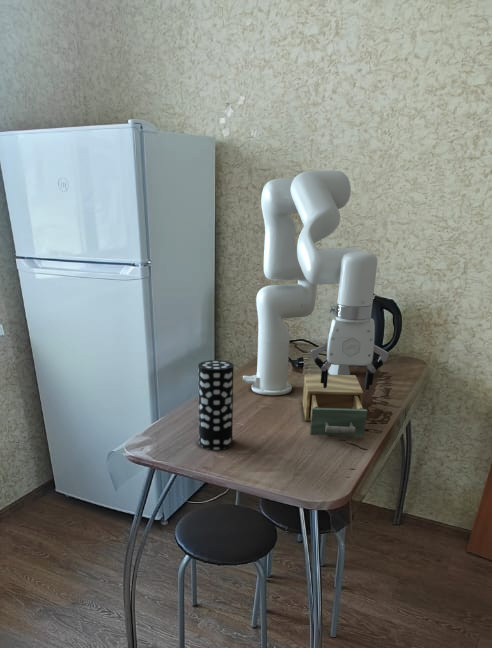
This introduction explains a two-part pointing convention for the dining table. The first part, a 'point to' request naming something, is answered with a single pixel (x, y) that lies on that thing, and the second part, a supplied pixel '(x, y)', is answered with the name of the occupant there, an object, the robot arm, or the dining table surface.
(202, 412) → the white-spotted black cylinder
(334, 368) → the flask
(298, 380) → the dining table surface
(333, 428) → the drawer
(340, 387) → the cabinet
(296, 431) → the dining table surface
